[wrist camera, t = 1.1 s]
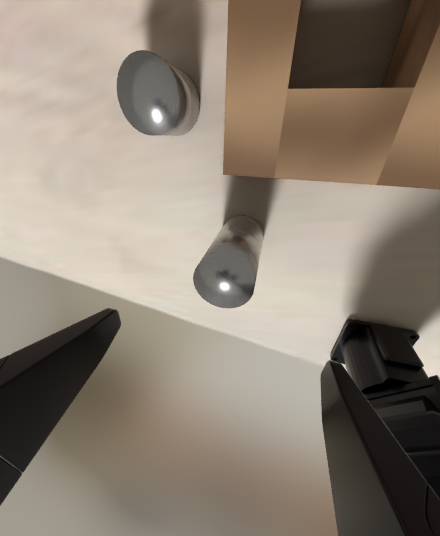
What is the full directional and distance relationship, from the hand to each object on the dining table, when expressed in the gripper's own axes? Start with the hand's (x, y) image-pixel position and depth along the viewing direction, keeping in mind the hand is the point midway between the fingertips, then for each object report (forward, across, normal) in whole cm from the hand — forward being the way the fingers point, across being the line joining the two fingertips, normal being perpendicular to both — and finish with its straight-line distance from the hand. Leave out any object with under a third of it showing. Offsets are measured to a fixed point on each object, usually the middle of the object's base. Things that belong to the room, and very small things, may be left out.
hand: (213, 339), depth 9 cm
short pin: (+13, +7, -9) cm, 17 cm away
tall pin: (+13, +1, +1) cm, 13 cm away
